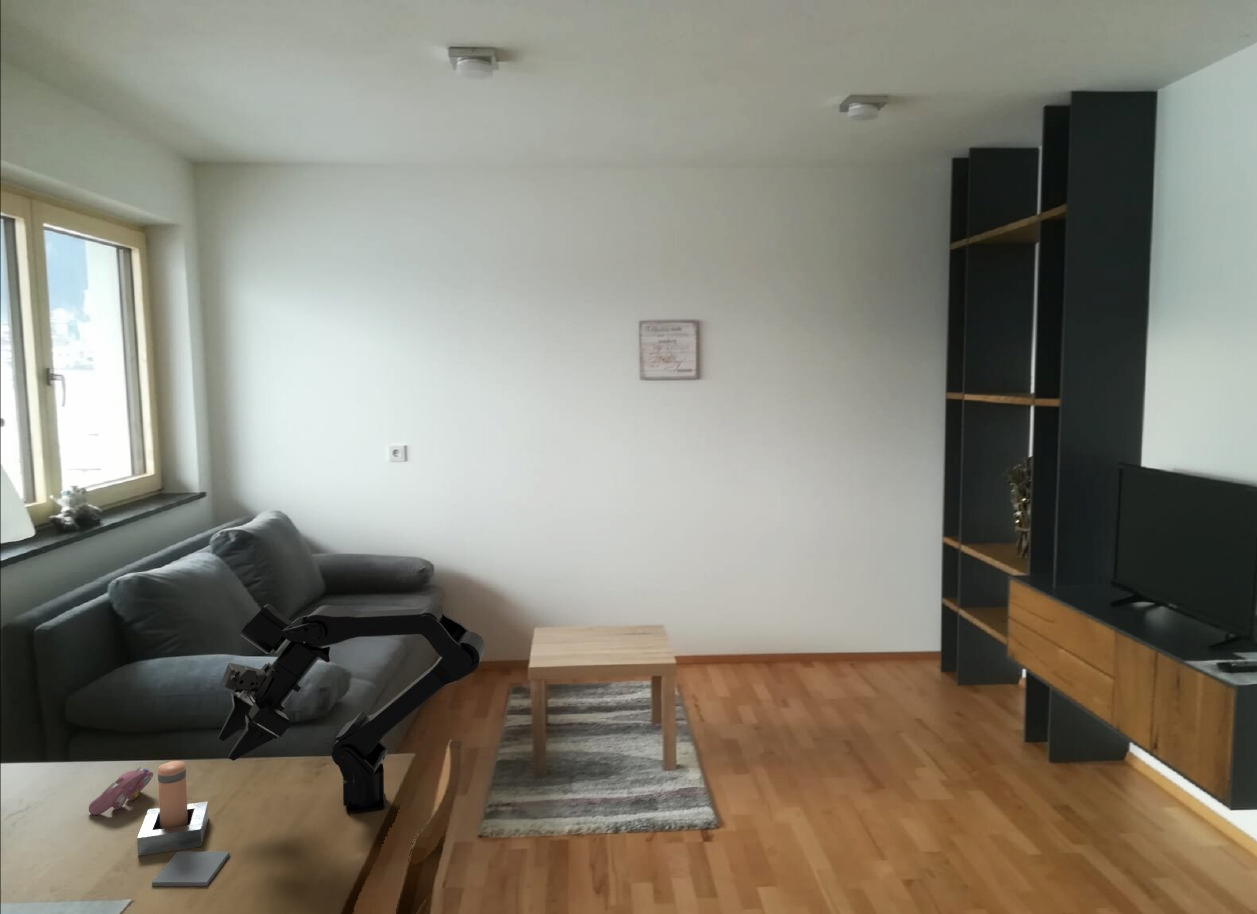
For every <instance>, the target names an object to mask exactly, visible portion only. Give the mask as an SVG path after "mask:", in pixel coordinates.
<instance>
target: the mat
mask: <svg viewBox="0 0 1257 914" xmlns="http://www.w3.org/2000/svg"><path fill="white" fill-rule="evenodd" d="M229 857H230V851H177V852H176V853H175V854H174V855H173V857H171V858H170V860H169V861H168V862H167V864H166V865H165V866H164V867H163V868H162V870H161V871H160V872H159V873H157V875H156V877H155V878H154V879H153V880H152V881H151V887H207V886H208V885H209V884H210V883H211V881H212V880H213V878H214V877H215V875H216V874H217V873H218V871H219V870H220V869H221V867H222V866H223V864H224V863H225V862H226V861H227V859H228V858H229Z"/></svg>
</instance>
